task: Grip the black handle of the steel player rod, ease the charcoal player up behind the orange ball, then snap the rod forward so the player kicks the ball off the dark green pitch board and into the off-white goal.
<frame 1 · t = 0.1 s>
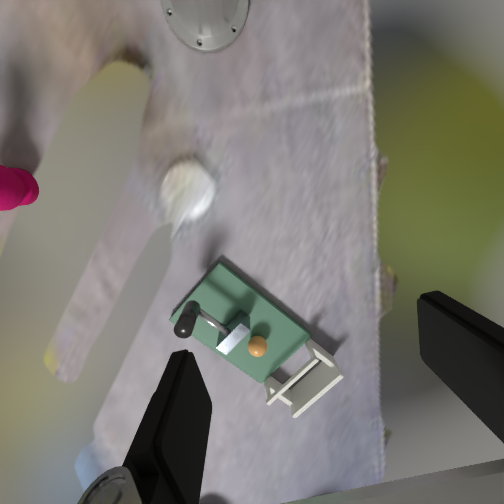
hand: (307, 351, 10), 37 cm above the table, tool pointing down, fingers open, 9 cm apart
goal: (297, 365, 55), on the table
pepper mill: (21, 186, 43), on the table
pitch board: (241, 324, 52), on the table
ball: (257, 346, 50), point 3 cm above the table, touching pitch board
player rod: (211, 326, 43), point 8 cm above the table, slide at 0.0 cm
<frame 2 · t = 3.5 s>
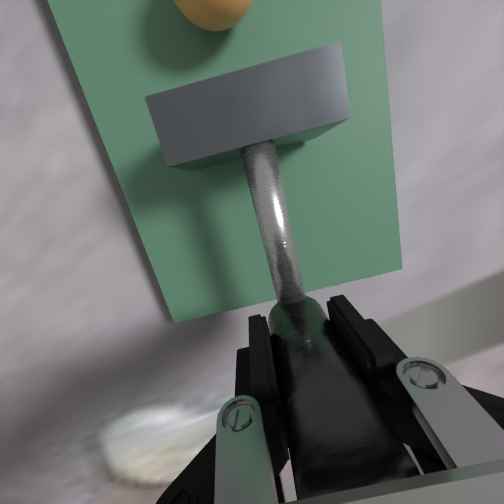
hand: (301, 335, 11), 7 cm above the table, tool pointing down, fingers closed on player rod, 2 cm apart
pitch board: (239, 103, 15), on the table
player rod: (280, 239, 9), point 8 cm above the table, slide at 0.0 cm, touching gripper
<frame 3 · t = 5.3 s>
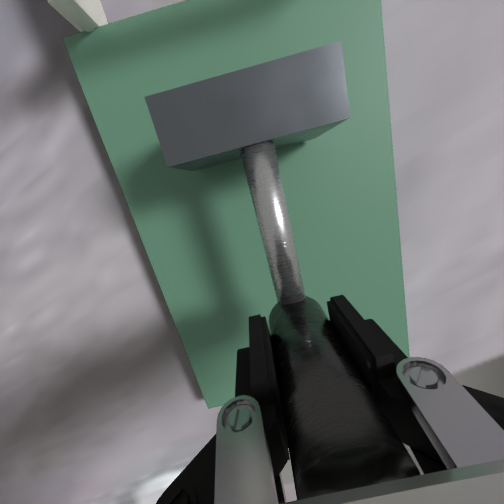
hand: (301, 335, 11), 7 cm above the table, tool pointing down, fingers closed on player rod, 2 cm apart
pitch board: (269, 229, 17), on the table
player rod: (280, 239, 9), point 7 cm above the table, slide at 7.9 cm, touching gripper
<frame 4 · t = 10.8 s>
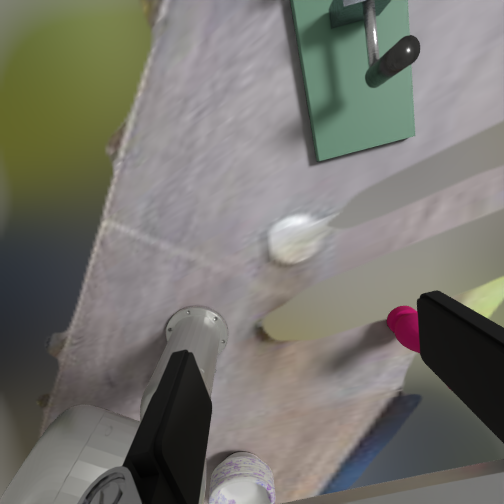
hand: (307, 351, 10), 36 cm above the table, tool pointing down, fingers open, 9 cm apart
paper bowls: (242, 463, 63), on the table
pepper mill: (400, 318, 52), on the table
pitch board: (353, 66, 38), on the table
player rod: (377, 30, 31), point 8 cm above the table, slide at 8.0 cm
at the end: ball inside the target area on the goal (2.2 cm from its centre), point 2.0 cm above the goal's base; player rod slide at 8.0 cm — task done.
